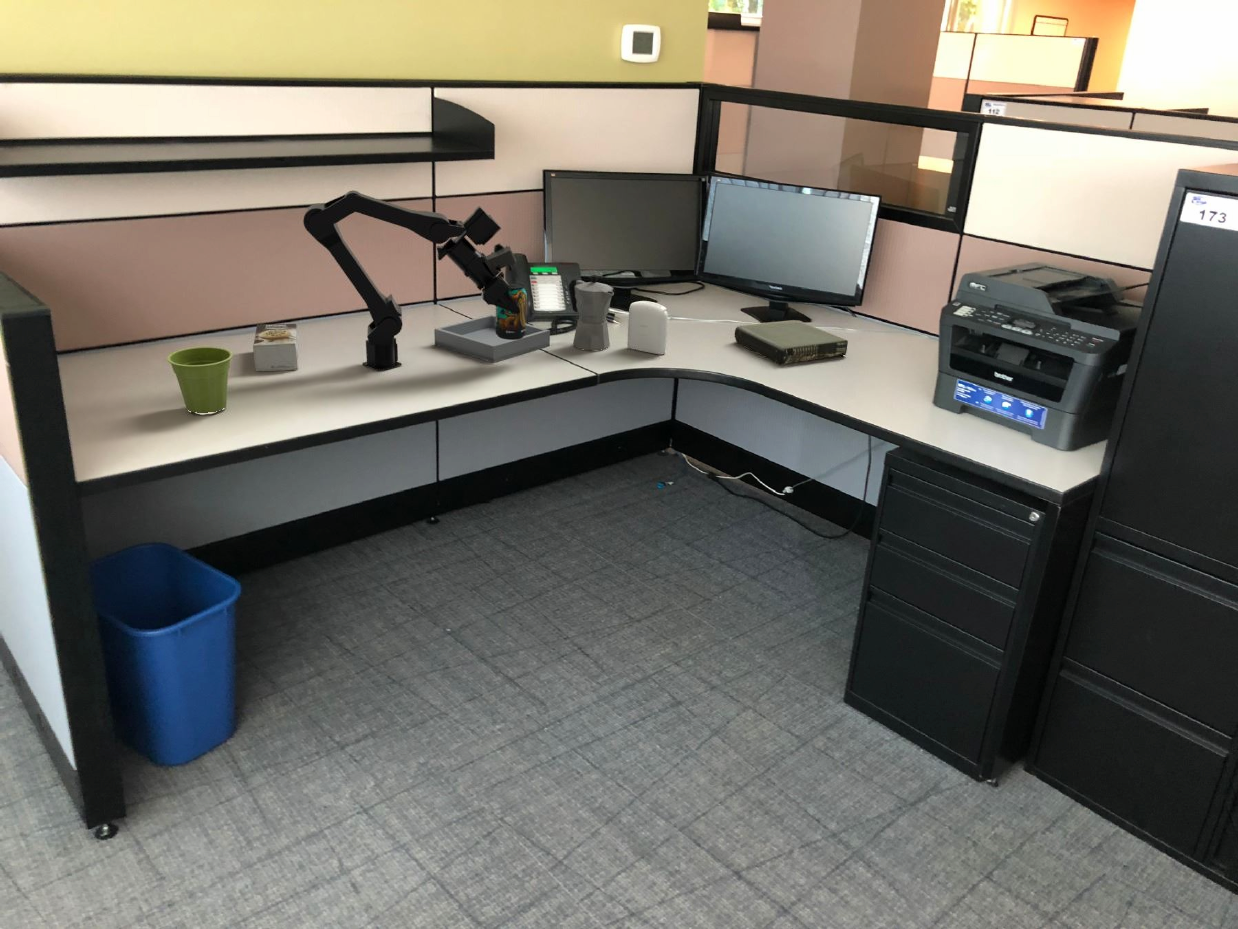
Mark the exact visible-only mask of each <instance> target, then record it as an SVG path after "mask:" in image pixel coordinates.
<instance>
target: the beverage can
mask: <svg viewBox="0 0 1238 929" xmlns="http://www.w3.org/2000/svg"><path fill="white" fill-rule="evenodd" d="M507 283H508V284H509V294H510V296H511V297H512V299H513V300H514V302H515V303H516V305H517V306H518V308H519V309H520V313H518V314H515V313H513V312H510V311H508V310H505V309H503V308H500V307H497V306H495V315H496V331H495V332H496V334H497V335H498V337H500V338H502V339H507V340H517V339H521V338H523V337H524V335H525V334H526V324H527V307H528V306H527V303H528V302H527V301H528V298H527V297H528V294H527V291H526V289H525V285H524V284H522V283H519V282H507Z"/></svg>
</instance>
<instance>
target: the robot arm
mask: <svg viewBox="0 0 1238 929" xmlns="http://www.w3.org/2000/svg"><path fill="white" fill-rule="evenodd" d="M353 213H358V214H361V215H364V216H367V217H370V218H373V219H377V220H380V221H382V222H386V223H389V224H392V225H395V226H399V227H403V228H405V229H407V230H409V231H411V232H413V233H415V234H417V235H418V236H419V237H422V238H423V239H426V240H427V241H429V242H431V243H433V244H436V251H437V254H436V257H437V260H438V261H442V260H443V259H444V258H445V257H446V256H447V257H448V258H449V259H450V260H451V261H452V263H454V264H455V265H456V266H457V268H459V269H460V271H461V272H463V275H464V276H465V277H466V278H469V279H470V280H471V281H472V282H473V284H474V285H475V286H476V288H477V289H478V290H479V291H481V298H482V300H483V302H485V303H486V304H487V305H488V306H495V307H496V306H497V307H500V308H503V309H505V310H508V311H510V312H513V313H515V314H518V313H520V309H519V308H518V306H517V305H516V303H515V302H514V300H513V299H512V297H511V296H510V294H509V284H508V283H509V282H507V280H506V279H505V275H504V274H505V273H504V272H503V271H502V269H504V268H506V267H508V266H512V265H514V264H516V263H517V259H516V257H515V254H514V253H513V250H512V249H511V247H510V245H509V246H508V245H506V246H504V245H502V244H501V243H500V242H498V243H497V244H494V246H493V252H491V253H489V254H488V255H486V254H485V253H484V252H481V251H479V250H478V249H477V248H476V247H475V246H474V245H476V246H481V245H482V246H485V245H486V244H488V242H489V241H490V240H492V239H493V237H495V236H496V234H498V233H499V232H500V230H502V227H501V225H500V224H499V223H498V222H497V221H496V219H495V218H493V216H491V215H490V214H488V212H487V211H485V209H483V208H482V207H481V206H477V207H476V208H475V209H474V211H473V212H472V213H471V215H470V216H469V217H467V218H466V220H464V221H463V220H456V219H451V218H448V217H447V216H446V215H444V214H443V213H441V212H434V211H427V210H415V209H414V210H413V209H409V208H406V207H403V206H400V205H397V204H394V203H391V202H387V201H384V200H382V199H378V198H375V197H372V196H369V195H366V194H364V193H361V192H359V191H357V190H349V191H347V192H346V193H345V194H343V195H340V196H338V197H336V198H333V199H331V200H329V201H327V202H325V203H323V204H322V203H314V204H311V205H310V206H308V208H307V209H306V211H305V213H304V216H303V221H302V222H303V226H304V228H305V230H306V231H307V232H308V233H309V234H310V236H311V237H313V238H314V239H315V240H316V241H317V242H318V243H319V244H320V245H322V246H323V247H324V248H325V249H326V250H327V251H328V252H329V253H330V254H331V256H332V258H334V260H335V262H336V263H337V265H338V266H339V267H340V269H341V270H342V271H343V273H344V274H345V276H346V277H347V279H348V280H349V282H350V283H351V284H352V286H353V287H354V289H355V290H356V291H357V293H358V294H359V295H360V297H361V298H362V300H363V301H364V303H365V305H366V306H367V310H368V311H369V314H370V316H371V319H372V321H371V322H370V323H369V324H368V325H367V331H366V332H367V333H366V334H367V337H366V338H367V339H365V348H366V349H365V354H366V356H365V357H366V361H363V362H362V363H361V364H362V366H364V367H367V368H370V369H373V370H376V371H378V372H379V371H380V372H383V371H386V370H390V369H393V368H397V367H400V366H402V362H400V361H398V360H399V353H398V352H399V351H398V348H399V347H398V343H397V338H396V337H395V336H397V335H398V334H400V333H401V331H402V329H403V313H402V312H403V311H402V307H401V305H399V304H398V303H397V302H396V300H395V298H394V296H393V294H392V293H390V294H389V295H388V296H385V294H384V293H382V292H381V291H380V290H379V289H378V287H377V285H376V284H375V283H374V281H373V280H372V278H371V277H370V276H369V274H368V273H367V271H366V269H365V268H364V267H363V265H362V264H361V263H360V261H359V260H358V258H357V257H356V255H355V253H353V251H352V250H351V248H350V247H349V245H348V243H347V242H346V241H345V239H344V238H343V235H342V232H341V230H340V228H339V225H338V223H340V222H341V221H342V220H345V219H346V218H347V217H349V216H350V215H352V214H353ZM467 237H468V239H469V240H470V241H471V242H472V243H473V244H474V245H473V244H472V243H471V242H470V241H469V240H468V239H467ZM453 238H454V239H453ZM442 244H443V245H442Z"/></svg>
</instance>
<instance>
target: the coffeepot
mask: <svg viewBox="0 0 1238 929" xmlns="http://www.w3.org/2000/svg"><path fill="white" fill-rule="evenodd" d="M590 278H591V281H589V282H586V281H584V280H578V279H576V278H573V279H572V280H571V281H570V282H569V284H568V291H569V295H570V296H569V298H570V301H571V306H572V310H573V312H574V313H578V314H579V316H578V318H579V319H578V320H577V324H576V328H575V333H574V338H573V341H572V345H573V346H574V347H575V348H576V347H577V348H576V349H578V348H579V349H578V350H581V349H584V350H583V351H587V350H601V349H605V350H607V349H608V348H609V347H610V346H611V344H610V343H611V342H610V336H609V335H610V334H609V327H608V326H609V325H608V321H607V316H608V314H609V311H610V305H611V300H612V297H613V296H614V294H615V292H614V288H613V287H612V286H610V285H608V284H606V283H601V282H597V281H598V275H596V274H592V275H591V276H590ZM608 346H609V347H608ZM607 347H608V348H607ZM606 348H607V349H606ZM601 351H602V350H601Z"/></svg>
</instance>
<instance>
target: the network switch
mask: <svg viewBox="0 0 1238 929" xmlns="http://www.w3.org/2000/svg"><path fill="white" fill-rule="evenodd" d="M734 339H735V342H736V343H737V344H739V345H740V344H741V345H740V346H742V345H743V346H742V347H744V346H745V347H744V348H746V347H747V348H746V349H748V348H749V350H750V349H751V351H752V350H753V352H754V351H755V352H754V353H756V352H757V354H758V353H759V354H758V355H760V354H761V355H760V356H762V355H763V356H762V357H764V358H766V359H767V358H768V360H770V361H771V360H772V361H771V362H773V363H775V362H776V363H775V364H778V365H779V366H784V365H788V364H790V363H793V362H794V363H798V362H799V361H800V362H807V361H813V360H816V359H817V360H818V361H819V360H820V359H825V358H830V357H839V356H841V355H845V356H846V354H847V352H848V343H849V340H847V339H845V338H843V337H839V336H837V335H836V334H835V335H834V334H833V333H830V332H827V331H826V330H823V329H821V328H818V327H817V326H816V327H815V326H813V325H810V324H808V323H805V322H803V321H801V320H794V319H792V320H782V321H771V322H763V323H753V324H742V325H737V326H736V328H735V330H734Z"/></svg>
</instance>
